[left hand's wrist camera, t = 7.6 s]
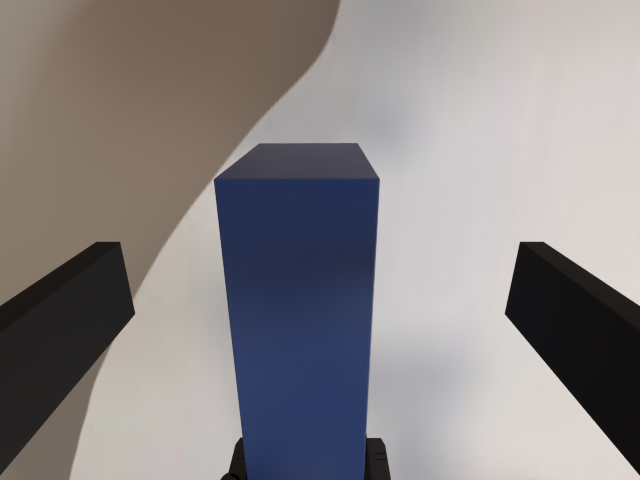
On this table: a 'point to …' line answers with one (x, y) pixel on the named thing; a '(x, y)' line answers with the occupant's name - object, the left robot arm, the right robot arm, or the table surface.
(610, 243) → the table surface
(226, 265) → the bar
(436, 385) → the table surface
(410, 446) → the table surface
